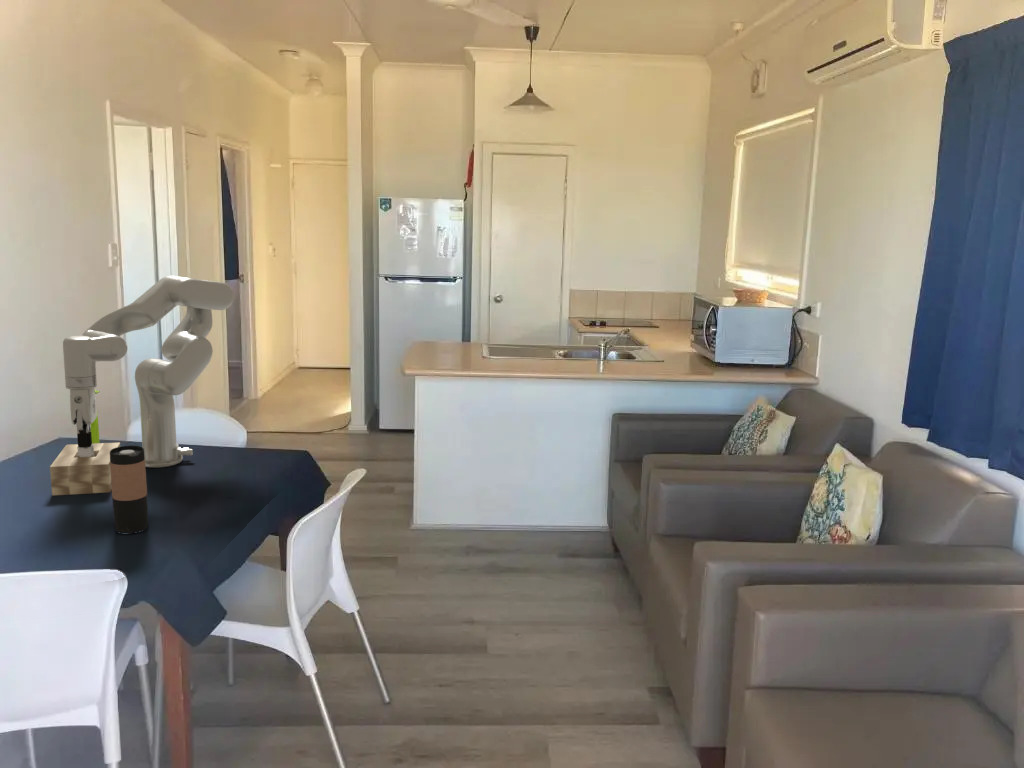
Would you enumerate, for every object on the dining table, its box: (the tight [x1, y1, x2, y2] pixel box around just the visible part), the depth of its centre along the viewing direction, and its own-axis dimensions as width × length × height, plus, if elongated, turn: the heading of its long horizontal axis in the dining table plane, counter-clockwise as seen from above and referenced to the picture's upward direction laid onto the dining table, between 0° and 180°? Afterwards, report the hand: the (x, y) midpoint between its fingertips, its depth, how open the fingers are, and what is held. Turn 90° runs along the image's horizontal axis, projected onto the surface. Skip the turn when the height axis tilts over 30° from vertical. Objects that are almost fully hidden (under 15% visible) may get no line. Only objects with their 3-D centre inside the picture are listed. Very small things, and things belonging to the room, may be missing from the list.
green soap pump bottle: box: [91, 389, 101, 444], centre depth 249 cm, size 6×7×20 cm
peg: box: [77, 445, 95, 457], centre depth 225 cm, size 4×4×7 cm
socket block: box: [49, 442, 121, 496], centre depth 226 cm, size 14×20×8 cm
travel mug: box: [110, 445, 149, 534], centre depth 195 cm, size 8×8×20 cm
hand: (85, 446), depth 224 cm, fingers closed
